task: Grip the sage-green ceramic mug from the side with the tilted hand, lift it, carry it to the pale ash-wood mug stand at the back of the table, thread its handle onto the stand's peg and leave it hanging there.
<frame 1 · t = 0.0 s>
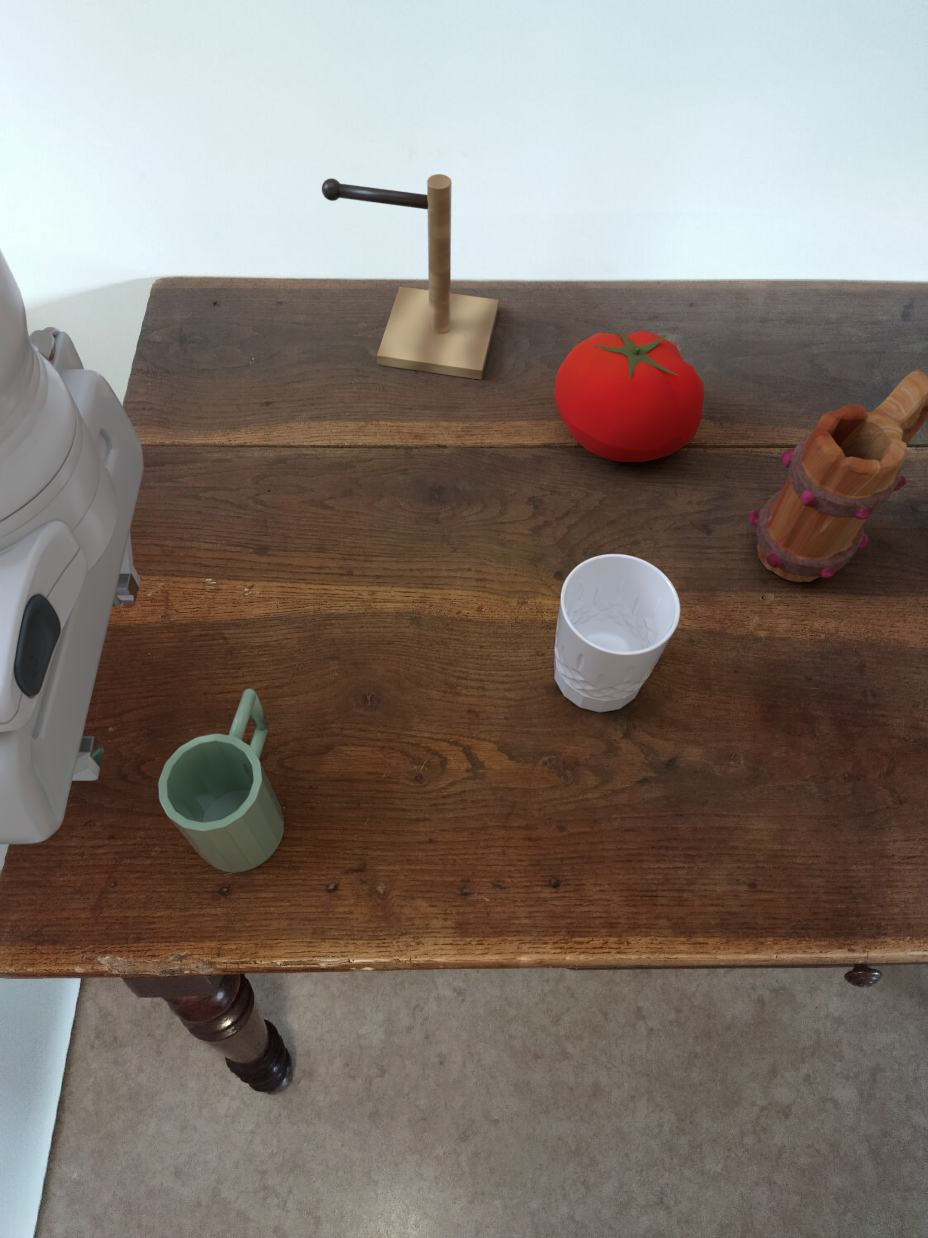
hand: (105, 675, 43), 20 cm above the table, tool pointing down, fingers open, 8 cm apart
white cup: (597, 674, 67), on the table
tomato: (618, 438, 79), on the table
mug stand: (439, 336, 86), on the table
mug: (811, 538, 74), on the table
enamel mug: (239, 828, 60), on the table
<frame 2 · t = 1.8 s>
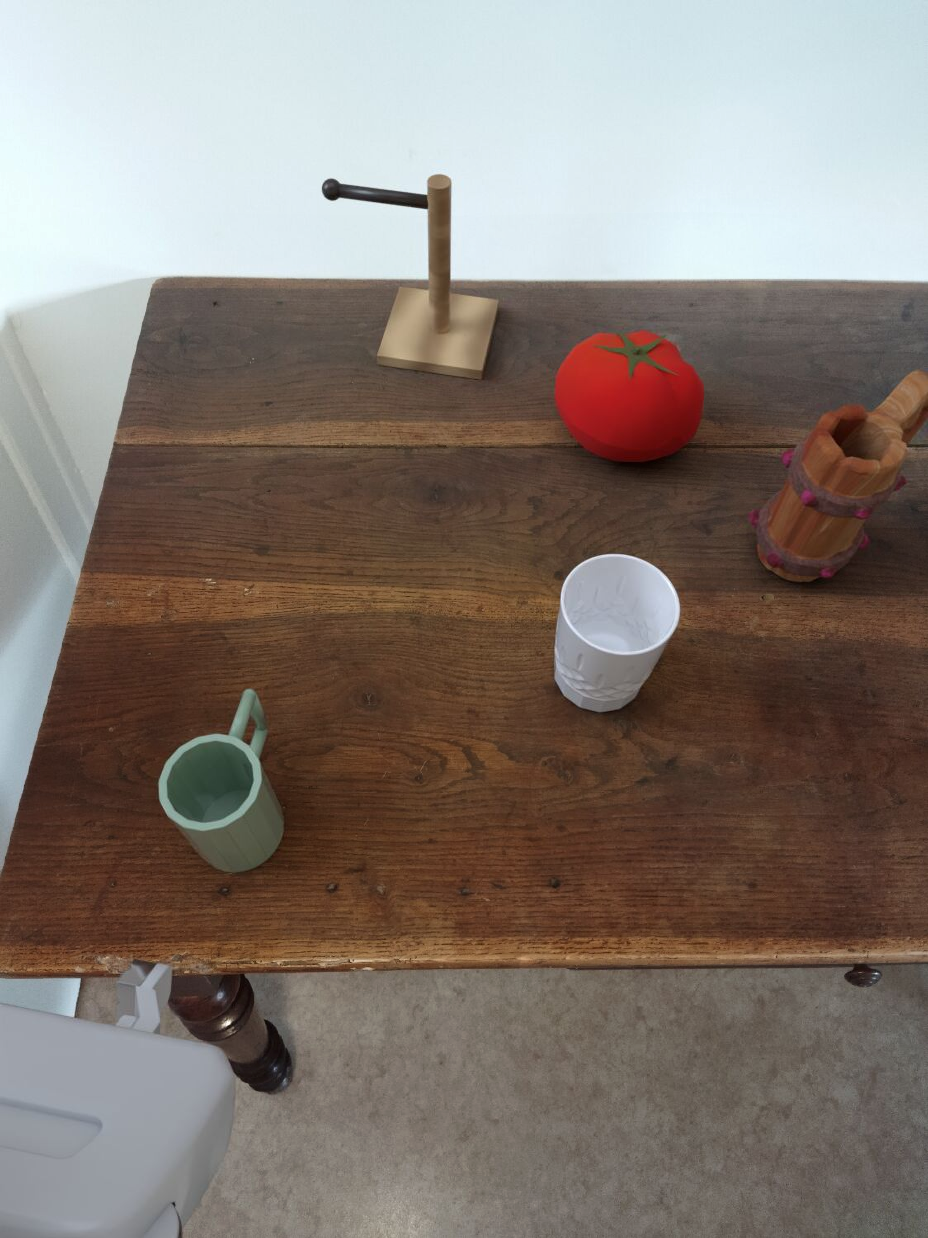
hand: (41, 954, 35), 22 cm above the table, tool tilted 45°, fingers open, 8 cm apart
nothing on the table moved.
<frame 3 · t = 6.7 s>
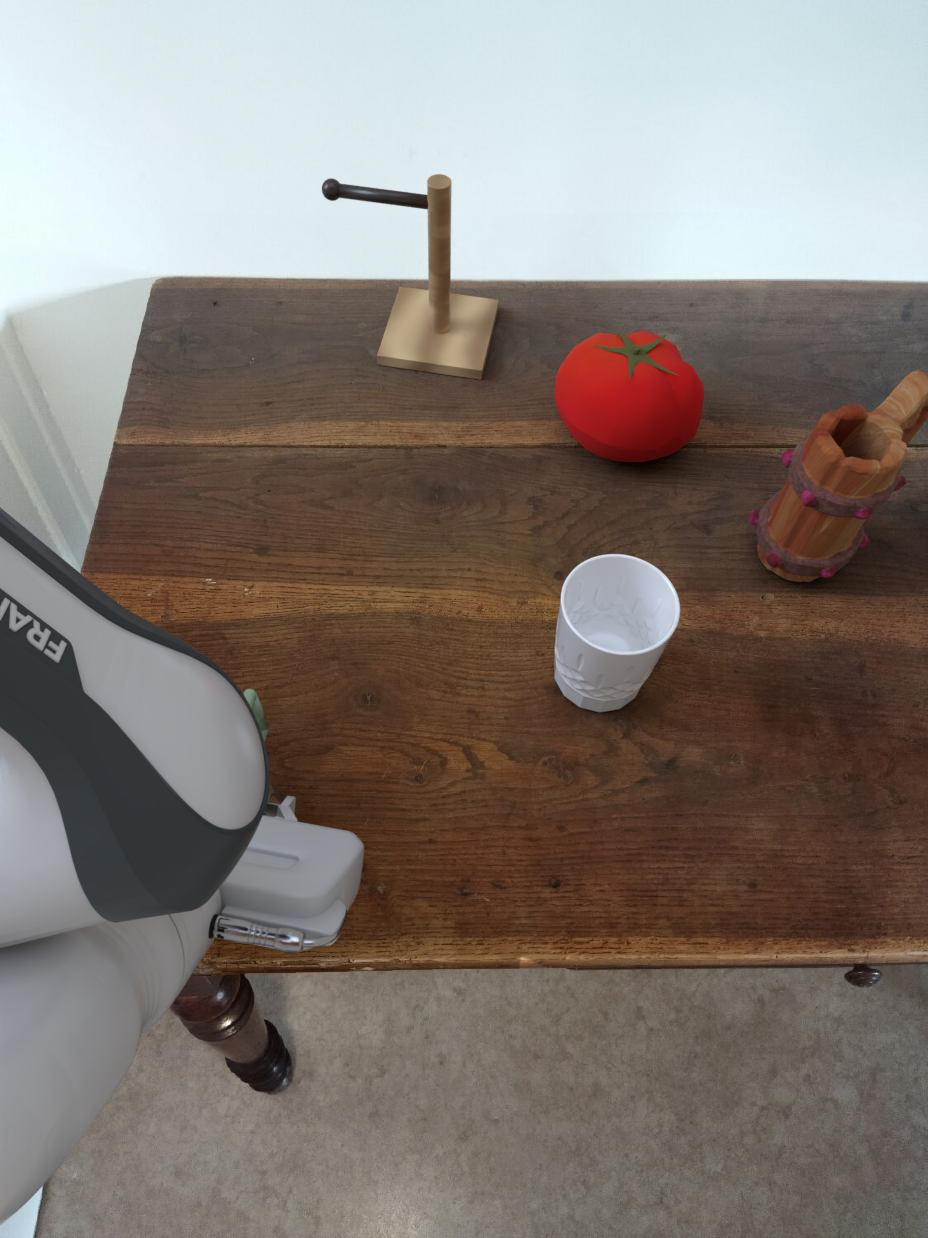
hand: (227, 794, 56), 5 cm above the table, tool tilted 45°, fingers closed on enamel mug, 6 cm apart
enamel mug: (240, 828, 60), on the table, touching gripper
everything else where it was.
when the fingers open (13 cm above the table, at t = 20.9 s): enamel mug drops 1 cm and tips over, resting on mug stand.
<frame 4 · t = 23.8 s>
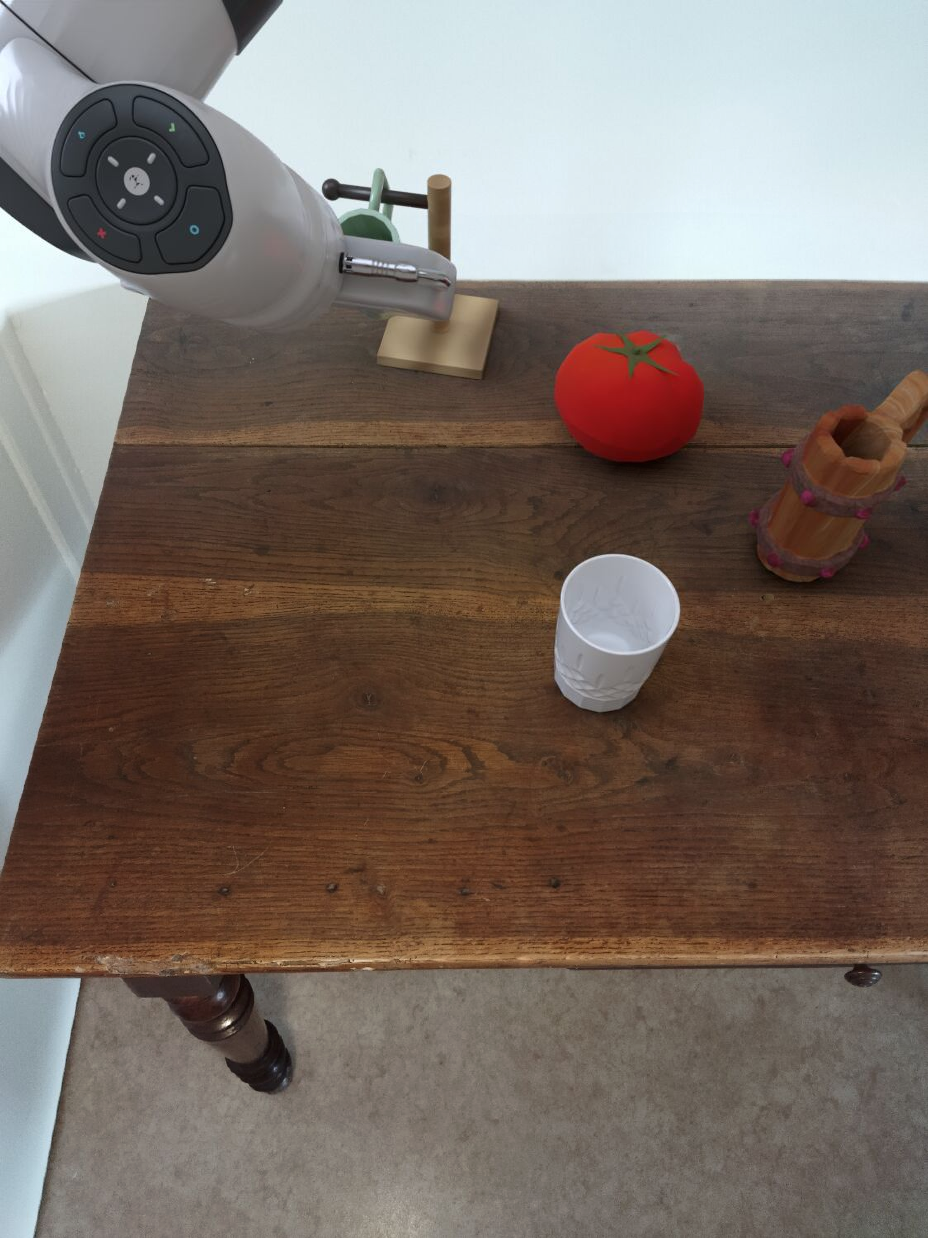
hand: (326, 284, 64), 17 cm above the table, tool tilted 45°, fingers open, 8 cm apart
enamel mug: (381, 285, 80), point 6 cm above the table, tilted 33°, touching mug stand
everything else where it was.
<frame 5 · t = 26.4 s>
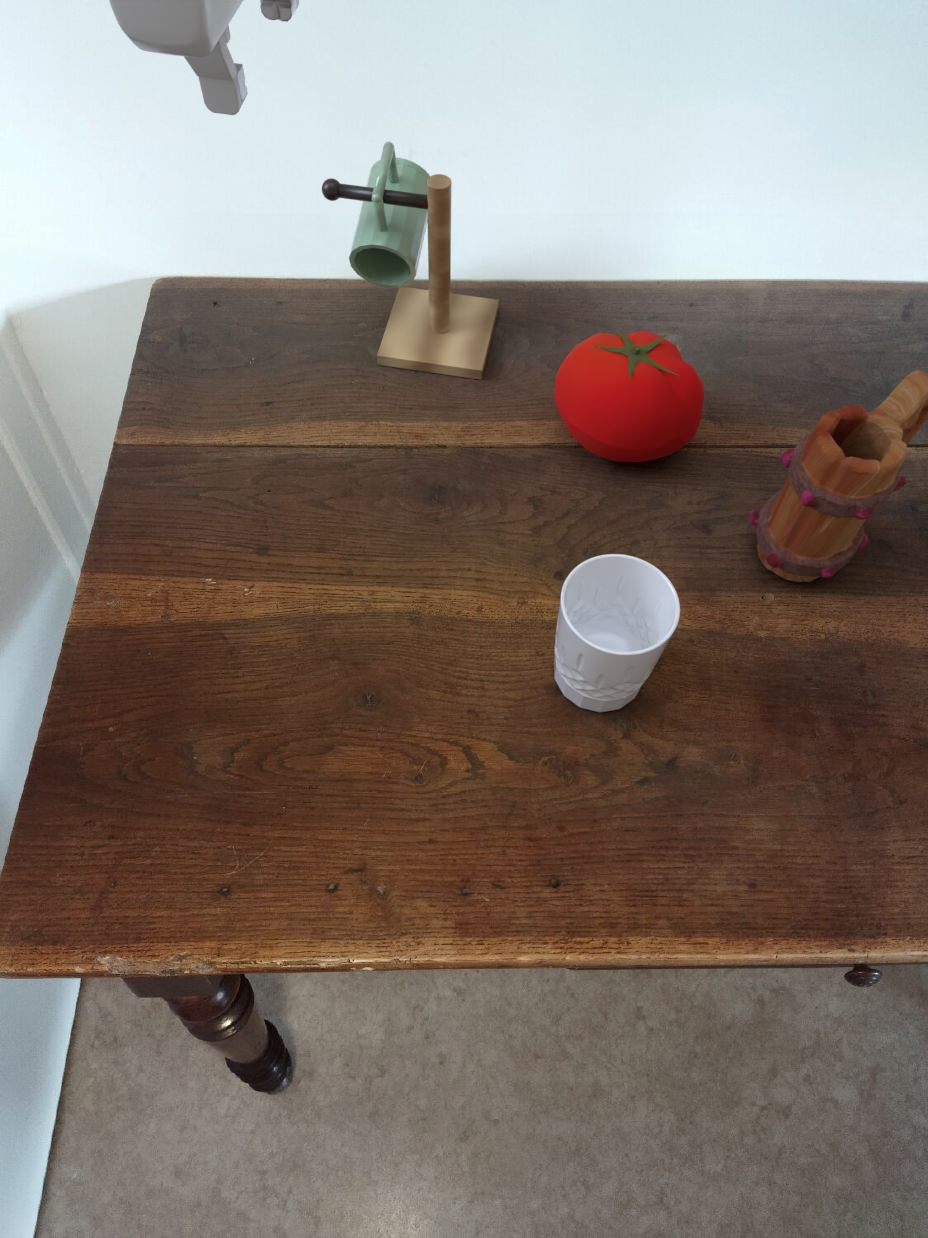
hand: (256, 58, 47), 34 cm above the table, tool pointing down, fingers open, 8 cm apart
enamel mug: (402, 181, 81), point 11 cm above the table, tilted 108°, touching mug stand
everything else where it was.
at the end: enamel mug inside the target area on the mug stand (5.0 cm from its centre), point 6.1 cm above the mug stand's base; enamel mug touching mug stand; the gripper is holding nothing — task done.
